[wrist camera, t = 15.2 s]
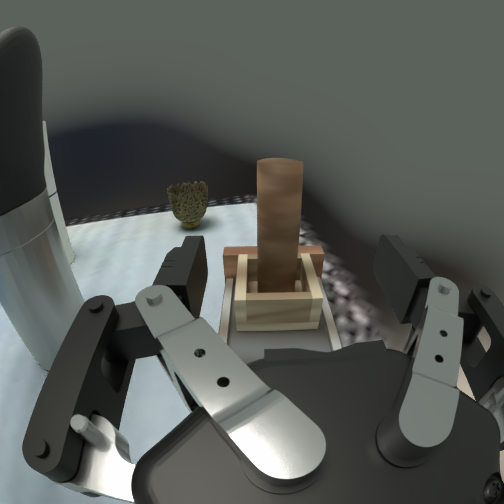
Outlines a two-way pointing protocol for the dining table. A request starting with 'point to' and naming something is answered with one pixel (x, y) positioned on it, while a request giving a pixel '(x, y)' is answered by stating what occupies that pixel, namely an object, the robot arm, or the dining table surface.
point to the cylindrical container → (56, 201)
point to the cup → (188, 203)
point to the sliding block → (277, 299)
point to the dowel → (278, 223)
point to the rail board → (254, 342)
